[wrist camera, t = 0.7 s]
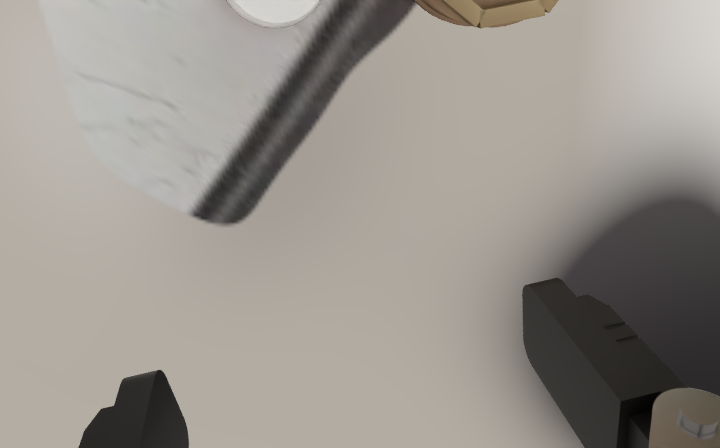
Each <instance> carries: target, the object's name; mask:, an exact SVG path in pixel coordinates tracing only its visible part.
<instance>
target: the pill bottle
mask: <svg viewBox="0 0 720 448" xmlns="http://www.w3.org/2000/svg"><path fill="white" fill-rule="evenodd" d="M226 1H227V2H228V4H229V5H230V6H231V7H232V8H233V9H234V10H235V11H236V12H237V13H238V14H239V15H240V16H241V17H243V18H244V19H246V20H248V21H249V22H252V23H254V24H256V25H259V26H262V27H267V28H283V27H288V26H291V25H294V24H297V23H299V22H300V21H302V20H304V19H305V18H307V17H308V16H309V15H310V14H311V13H312V12H313V11H314V10H315V9H316V8H317V6H318V5H319V3H320V2H321V0H226Z"/></svg>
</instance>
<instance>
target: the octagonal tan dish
mask: <svg viewBox="0 0 720 448" xmlns="http://www.w3.org/2000/svg"><path fill="white" fill-rule="evenodd" d="M414 1H415V2H416V3H417V4H418V5H419V6H420V7H422V8H423V9H424V10H425V11H427V12H428V13H430V14H431V15H433V16H435V17H437V18H439V19H441V20H444V21H447V22H450V23H453V24H457V25H463V26H474V27H478V28H484V27H501V26H506V25H510V24H514V23H517V22H519V21H522V20H524V19H529V18H535V17H540V16H544V15H545V12H548V13H549V12H550V11H551V9H552V8H553V7H554V6H555V4H556V3H557V1H558V0H414Z"/></svg>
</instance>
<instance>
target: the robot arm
mask: <svg viewBox="0 0 720 448" xmlns="http://www.w3.org/2000/svg"><path fill="white" fill-rule="evenodd" d="M522 296H523V339H524V345H525V350H526V353H527V356H528V359H529V361H530V363H531V365H532V367H533V368H534V370H535V371H536V373H537V374H538V376H539V378H540V379H541V381H542V382H543V384H544V385H545V387H546V388H547V390H548V392H549V393H550V394H551V396H552V398H553V399H554V401H555V402H556V404H557V405H558V407H559V408H560V410H561V412H562V413H563V415H564V416H565V418H566V419H567V421H568V422H569V424H570V425H571V427H572V429H573V430H574V432H575V433H576V435H577V436H578V438H579V439H580V441H581V443H582V444H583V446H584V447H585V448H720V397H718V396H716V395H714V394H712V393H709V392H706V391H702V390H699V389H692V388H688V387H687V386H686V385H685V384H684V383H683V382H682V381H681V380H680V379H679V378H678V377H677V376H676V375H675V374H674V373H673V372H672V370H671V369H670V368H669V367H668V366H667V365H666V364H665V363H664V362H663V361H662V360H661V359H660V358H659V357H658V356H657V355H656V354H655V353H654V352H653V351H652V350H651V349H650V348H649V347H648V345H647V344H645V342H644V341H643V340H642V339H640V338H638V337H637V334H636V333H635V332H634V331H633V330H632V329H631V328H630V327H629V326H628V325H625V322H624V321H623V319H621V318H620V316H619V315H618V314H617V313H616V312H615V311H614V310H613V309H612V308H611V307H610V306H609V305H607V304H604V303H603V302H601V301H599V300H597V299H595V298H593V297H591V296H590V295H583V296H579V297H576V296H575V295H574V293H573V292H572V291H571V290H570V289H569V288H568V287H567V285H565V283H564V282H563V281H562V280H561V279H559V278H554V279H550V280H545V281H541V282H537V283H532V284H529V285H525V286H524V288H523V294H522ZM79 448H189V439H188V431H187V426H186V422H185V420H184V417H183V415H182V412H181V410H180V408H179V405H178V403H177V401H176V399H175V396H174V394H173V392H172V389H171V387H170V385H169V383H168V380H167V378H166V376H165V374H164V373H163V371H161V370H157V371H152V372H148V373H144V374H140V375H135V376H131V377H127V378H124V379H123V380H122V382H121V384H120V388H119V391H118V394H117V398H116V401H115V404H114V406H112V407H108V408H103V409H101V410H100V411H99V412H98V414H97V415H96V416H95V418H94V419H93V420H92V422H91V423H90V424H89V425H88V427H87V428H86V429H85V431H84V433H83V437H82V440H81V442H80V445H79Z"/></svg>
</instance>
